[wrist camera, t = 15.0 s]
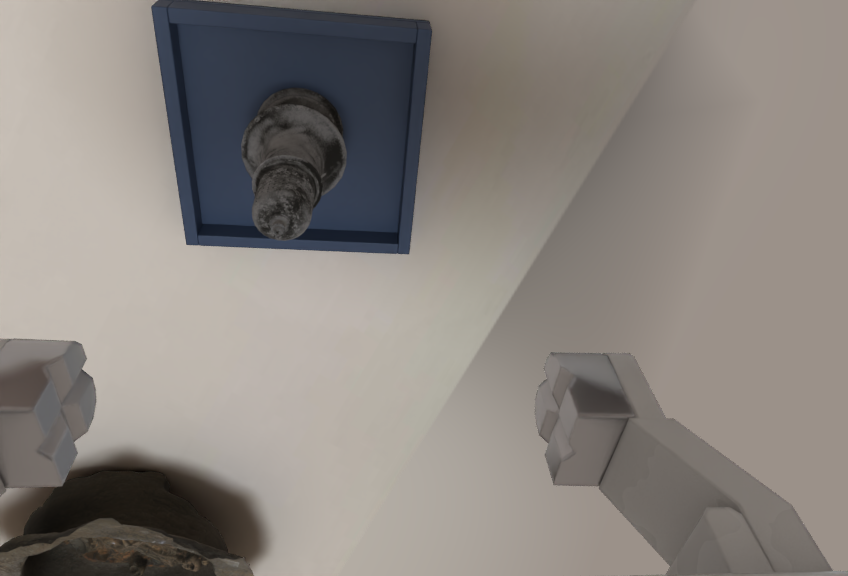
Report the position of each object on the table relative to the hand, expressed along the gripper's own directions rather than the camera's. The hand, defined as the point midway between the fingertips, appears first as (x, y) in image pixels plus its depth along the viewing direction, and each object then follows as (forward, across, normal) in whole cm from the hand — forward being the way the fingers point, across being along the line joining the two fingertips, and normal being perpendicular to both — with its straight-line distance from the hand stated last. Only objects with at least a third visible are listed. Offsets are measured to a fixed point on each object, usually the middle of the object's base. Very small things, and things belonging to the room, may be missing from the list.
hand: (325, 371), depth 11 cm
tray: (+29, +3, +8) cm, 30 cm away
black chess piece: (+29, +3, +8) cm, 30 cm away
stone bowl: (+29, +19, +50) cm, 61 cm away
